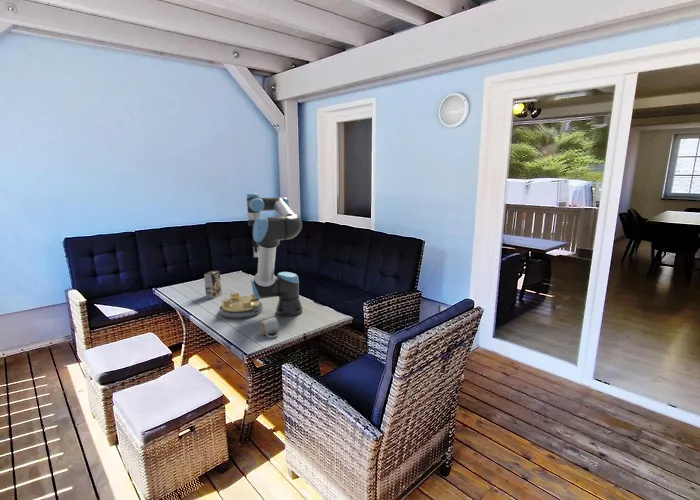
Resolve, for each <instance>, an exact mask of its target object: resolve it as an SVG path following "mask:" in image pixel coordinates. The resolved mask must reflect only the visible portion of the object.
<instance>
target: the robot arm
mask: <svg viewBox="0 0 700 500" xmlns="http://www.w3.org/2000/svg"><path fill="white" fill-rule="evenodd" d="M246 206H247V208H246V209H247V214H246V216H247V219H248V220H247V224H248V226H249V227H251V229H250V230H251V238H252V247H251V248H253V258H258V259H257V261H258V262H257V273H256V274H254V277H253V278H251V280H250V283H251V289H252V294H254V298H256V299H259V300H262V299H269V298H276V297H278V302H277V306H276V308H275V309H276V312H275V313H276V314H277V315H278V316H281V317H294V316H298V315H300V314H302V313H303V306H302V303H301V300H300V287H299V286H300V281H299V276H298V275H297V274H296V273H293V272H289V271H281V272H278V273H277V275H275V273H274V272H275V263H276V254H277V253H276V252H277V247H278V246H279V245H280V243H281V241H284V240H292V239H294V238H295V237H297V236H298V235H299V233H300V232H301V231H302V229H303V222H302V219H301V217H300V216H299V215H298V214H296V213H294V212H293V211H292V209H291V208H290V207H289V206H290V205H289V199H288V198H287V197H283V196H280V197H279V196H278V197H260V194H259V193H255V192H254V193H247V194H246ZM265 211H268V212H269V211H270V212H271V211H275V213H276V214H277V216H269V217H267V216H264V217H262V216H261V212H265Z"/></svg>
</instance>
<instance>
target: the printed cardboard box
mask: <svg viewBox="0 0 700 500" xmlns="http://www.w3.org/2000/svg"><path fill="white" fill-rule="evenodd" d="M203 276H204V277H203V278H204V289H205V298H206V299H216V298H218V297H220V296H221V295H222V293H223V291H222V279H221V270H210V271H208V272H206V273H204V275H203Z"/></svg>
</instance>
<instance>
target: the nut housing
mask: <svg viewBox="0 0 700 500" xmlns="http://www.w3.org/2000/svg"><path fill="white" fill-rule="evenodd" d="M259 304H260V305H259V307H258V308H257V309H255V310H252V311H249V312H244V313H228V312H225V311H223V310H222V305H220V307H219V309H218V310H219V316H220V317H221V318H222V319H225V320H226V319H227V320H244V319H249V318H253V317H256V316H257V315H259V314H261V313H262V312H263V304H262V302H261V301H259Z"/></svg>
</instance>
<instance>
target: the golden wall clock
mask: <svg viewBox="0 0 700 500" xmlns="http://www.w3.org/2000/svg"><path fill="white" fill-rule="evenodd" d="M250 295H251V296H249V295H248V296H247V295H246V296H244V295H243V296H242V295H240V293H239V292H237V291H236V292H231V293H230V298H228V299H227V298H226V299H221V301H220V302H221V306H222V310H223V311H225V312H228V313H244V312H249V311H252V310H255V309H257V308H258V307H259V305H260V304H259V302H260V299H256V298H254V294H253V293H251V294H250Z"/></svg>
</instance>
